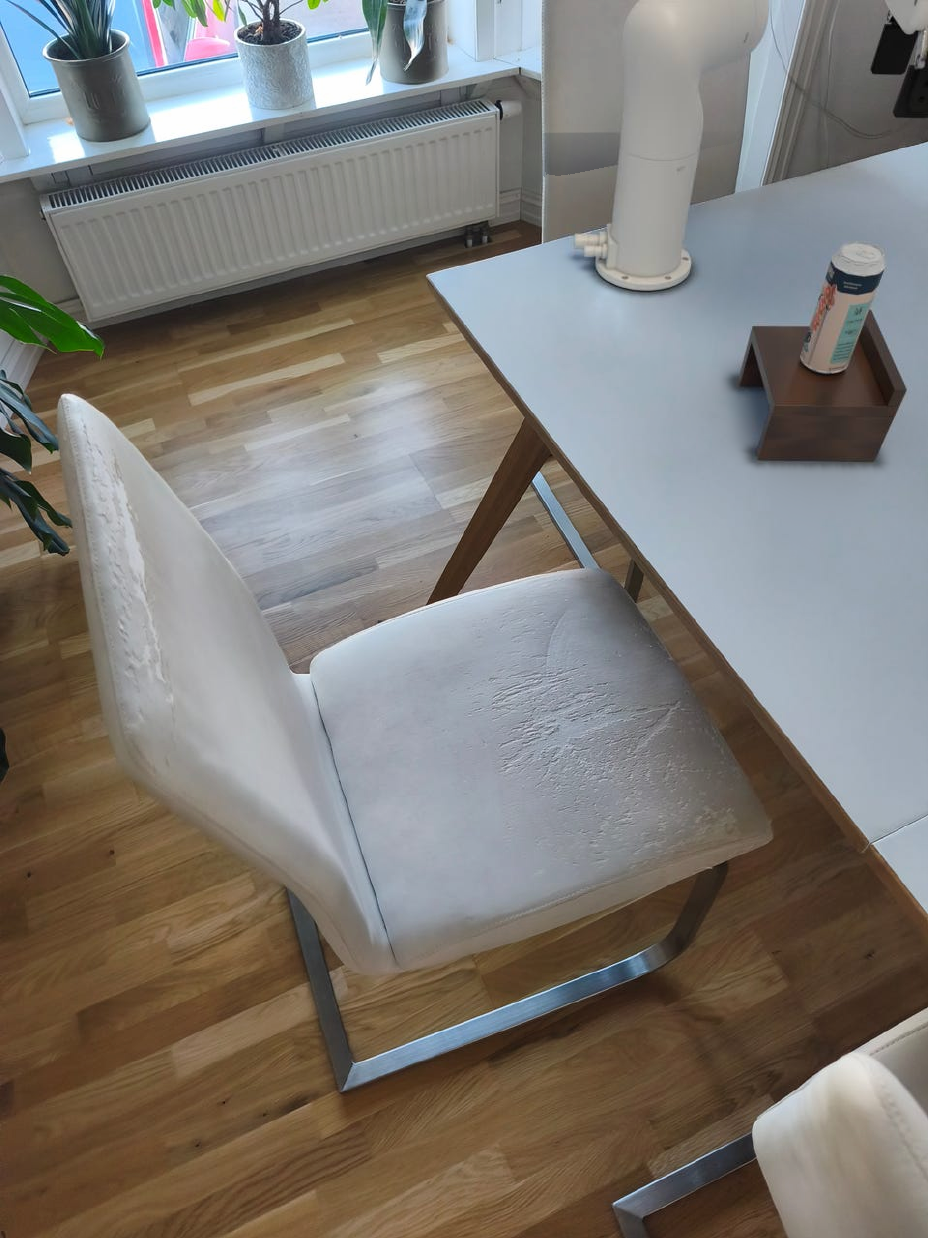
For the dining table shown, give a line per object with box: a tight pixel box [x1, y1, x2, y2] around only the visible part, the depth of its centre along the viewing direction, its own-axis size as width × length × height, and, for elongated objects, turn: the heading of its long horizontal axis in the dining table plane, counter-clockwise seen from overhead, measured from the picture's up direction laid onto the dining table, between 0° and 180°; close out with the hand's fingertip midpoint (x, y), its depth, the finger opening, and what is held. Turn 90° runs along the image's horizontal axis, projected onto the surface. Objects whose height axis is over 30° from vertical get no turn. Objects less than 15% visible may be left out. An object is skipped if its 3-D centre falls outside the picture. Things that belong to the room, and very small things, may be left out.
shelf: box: [737, 309, 908, 463], centre depth 90 cm, size 12×14×9 cm
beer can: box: [800, 240, 886, 374], centre depth 83 cm, size 5×5×12 cm
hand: (898, 93), depth 79 cm, fingers open, 9 cm apart
